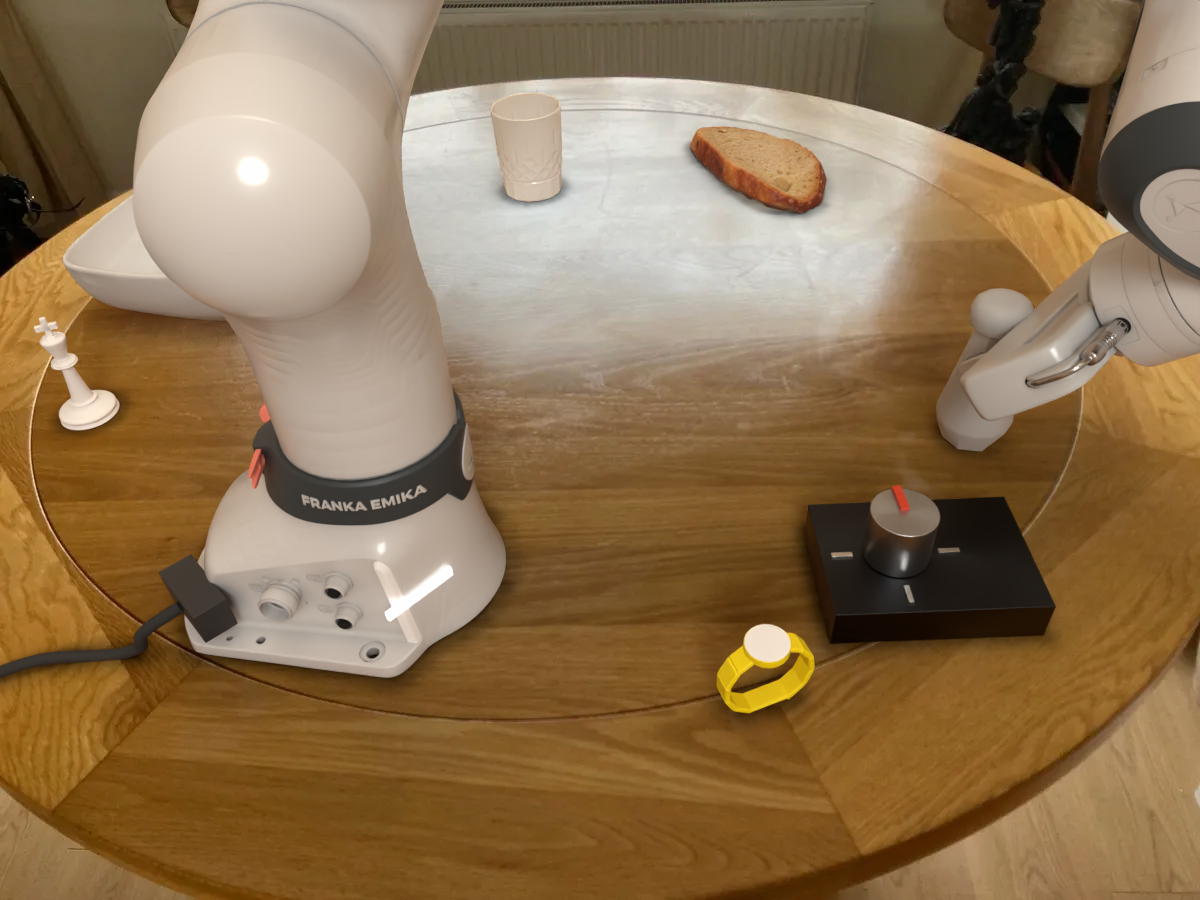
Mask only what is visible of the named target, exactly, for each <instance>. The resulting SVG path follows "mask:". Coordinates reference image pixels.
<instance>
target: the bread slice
mask: <svg viewBox="0 0 1200 900" xmlns="http://www.w3.org/2000/svg"><path fill="white" fill-rule="evenodd" d="M689 147H690V148H689V149H690V150H691V151H692V152H693V154H694V155H695V157H696V159H697V161H699V162H701V164H702V166H704V167H706V168H707V169H708V171H710V172H711V173H713V174H714V176H715V177H717V179H719V180H721V182H722V183H724V184H725V185H726V186H728V187H729V188H731V189H732V190H734V191H735V192H736V193H741V194H743V195H744V196H745V197H746V198H747V199H748V200H752V201H753V200H754V201H757V202H758V203H760V204H762V205H764V206H765V207H766V208H770V209H775V210H776V211H777V210H778V211H782V212H792V213H796V214H801V213H802V214H804V213H807V212H808V211H810V210H812V209H815V208H816V207H818V206H819V205H820V204H822V202H823V200H824V197H825V192H826V186H827V175H826V172H825V169H824V167H823V164H822V162H821V161H820V159H819V158H818V157H817V156H816V155H815V154H814V152H813V151H812V150H810V149H808V147H805V146H802V145H801V144H800V143H798V142H795V141H794V140H791V139H787V138H780V137H778V136H776V135H773V134H770V133H767V132H762V131H759V130H756V129H749V128H742V127H737V126H706V127H705V126H704V127H700V128H698V129H696V131H695V133H694V135H693V137H692V139H691V142H690V144H689Z"/></svg>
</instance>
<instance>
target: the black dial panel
mask: <svg viewBox="0 0 1200 900" xmlns="http://www.w3.org/2000/svg"><path fill="white" fill-rule="evenodd" d="M931 500H932V501H933V502H934V503H935V505H936V506H937V508H938V510H939V512H940V523H939V526H938V530H937V534H936V537H935V541H934V544H933V548H932V552H931V555H930V559H929V562H928V565H927V566H926V568H925V569H924V570H923V571H922V572H920V573H919V574H917V575H914V576H911V577H905V578H899V577H891V576H888V575H885V574H882V573H880V572H878V571H877V570H875V569H874V568H872V567H871V566H870V565H869V564H868V563H867V561H866V560H865V558H864V556H863V553H862V544H863V539H864V534H865V529H866V524H867V519H868V514H869V510H870V505H871V502H872V501H864V502H861V501H860V502H840V503H837V502H836V503H815V504H814V503H812V504H808V505H807V509H806V516H805V523H804V531H803V535H804V538H805V540H804V541H805V545H806V548H807V552H808V556H809V560H810V564H811V569H812V574H813V577H814V582H815V586H816V590H817V594H818V598H819V602H820V606H821V607H820V608H821V611H822V615H823V619H824V623H825V628H826V632H827V636H828V640H829V644H832V645H833V644H852V643H853V644H854V643H855V644H856V643H857V644H858V643H880V642H881V643H882V642H908V641H932V640H935V641H936V640H958V639H959V640H960V639H984V638H986V639H987V638H1011V637H1034V636H1036V637H1037V636H1044V635H1045V633H1046V631H1047V628H1048V626H1049V624H1050V622H1051V620H1052V617H1053V614H1054V612H1055V610H1056V608H1057V606H1056V603H1055V601H1054V599H1053V597H1052V595H1051V593H1050V591H1049V588H1048V586H1047V584H1046V582H1045V580H1044V577H1043V576H1042V573H1041V572H1040V569H1039V567H1038V564H1037V563H1036V561H1035V559H1034V557H1033V555H1032V552H1031V550H1030V548H1029V546H1028V544H1027V541H1026V540H1025V538H1024V535H1023V533H1022V531H1021V528H1020V527H1019V525H1018V523H1017V520H1016V518H1015V516H1014V514H1013V512H1012V509H1011V508H1010V506H1009V504H1008V501H1007V499H1006V497H1005V496H983V497H980V496H979V497H961V498H960V497H958V498H935V499H933V498H931Z"/></svg>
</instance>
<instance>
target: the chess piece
mask: <svg viewBox="0 0 1200 900" xmlns="http://www.w3.org/2000/svg"><path fill="white" fill-rule="evenodd" d="M38 322H39V324H37V325H34V326H33V329H34V332H35V333H36V334H38V333H45V334H44V335H43V336H41V338H40V339H39V345H40V346H41V347H42V348H43V349H44V350H46V352H48V353H49V354H50V356H52V357H53V358H52V360H51V361H50V367H51V369H52V370H55V371H61V372H62V375H63V377H64V381H65V384H66V386H67V389H68V392H69V395H70V398H69V399H68V400H66V401H65V402H64V403H63V404H62V405H61V407H60V408H59V410H58V418H59V421H60V424H61V425H62V426H63V427H64V428H65V429H67V430H70V431H86V430H87V431H88V430H91V429H94V428H97V427H100V426H102V425H104V424H105V423H107V422H108V421H110V420H112V419H113V418H114V417H115V416H116V415H117V413H118V412H119V410H120V401H119V400H118V398H117V397H116V396H115V394H114V393H113V392H111V391H108V390H105V389H90V388H89V386H88V385H87V384H86V382H85V381H84V379H83V378H82V377H81V375H80V374H79V372H78V371H77V369H76V367H75V365H76V364H78V361H79V357H78V356H77V355H76V354H75V353H72V352H68V344H67V336H66V334H65V333H64V332H62V331H53V330H57V329H59V324H58V322H57V320H55V321H51V322H48V320H47V318H46V316H42V317H39V318H38Z"/></svg>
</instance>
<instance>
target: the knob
mask: <svg viewBox="0 0 1200 900" xmlns="http://www.w3.org/2000/svg"><path fill="white" fill-rule="evenodd" d="M870 502H871V505H870V510H869V514H868V519H867V524H866V529H865V534H864V539H863V544H862V553H863V556H864V558H865V560H866V561H867V563H868V564H869V565H870V566H871V567H872V568H874V569H875V570H877V571H878V572H880V573H882V574H885V575H888V576H891V577H899V578H905V577H911V576H914V575H917V574H919V573H920V572H922V571H923V570H924V569H925V568H926V566H927V565H928V562H929V559H930V555H931V552H932V548H933V544H934V541H935V537H936V534H937V530H938V526H939V523H940V512H939V510H938V508H937V506H936V505H935V503H934V502H933V501H932V498H931V499H930V498H929V497H928V496H927V495H926V494H923V493H921V492H919V491H916V490H913V489H909V488H902V486H901V485H900V484H897V485H892V486H891V488H889V489H886V490H882V491H881V492H879V493H878V494H876V495H875V497H873V498H872V500H871V501H870Z"/></svg>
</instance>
